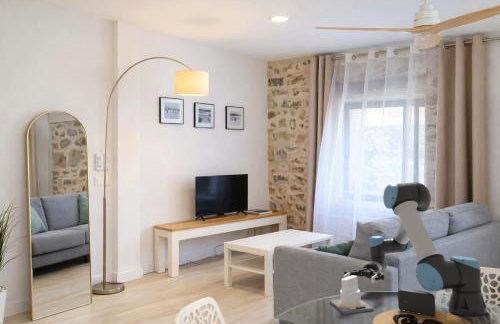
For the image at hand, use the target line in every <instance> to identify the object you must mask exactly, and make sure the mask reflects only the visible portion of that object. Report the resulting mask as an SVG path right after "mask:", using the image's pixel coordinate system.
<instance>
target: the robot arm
mask: <svg viewBox="0 0 500 324" xmlns="http://www.w3.org/2000/svg"><path fill="white" fill-rule="evenodd" d="M431 202H432V195H431V192H430V190H429V188H428V187H427V186H426V185H424V184H423V183H421V182H419V181H418V182H416V181H415V182H414V181H412V182H406V183H405V182H403V183H402V182H401V183H396V182H395V183H391V184H388V185H387V186H385V188H384V190H383V205H384V206H385V208H386V209H390V210H392V212H393V215H396V216H397V217H399V220H400V224H399V225H398V228H397V230H396V233H395V234H394V236H393V238H384V236H383V235H372V236H370V237H369V245H368V246H369V254H370V255H369V256H370V258H369V259H370V261H369V262H368V263H366V264H365V265H364V266H363V268H360V269H358V268H355V269H348V270H345V271H343V278H346V277H349V276H352V275H354V276H357V277H360V278H361V277H366V278H367V279H370V280H371V284H374V283H376V282H377V281H380V280H382V281H385V274H384V273H383V272H384V271H386V269H387V268H388V261H387V260H386V259H385V258H386V256H385V255H387V254H393V253H405V252H408V251H410V249H411V247H412V248H413V251H414V253H415V254H416V257H417V259H418V261H417V262H416V269H415V274H416V275H415V277H416V279H417V282H418V284H419V285H420V286H421V288H422V289H424V290H426V291H427V292H439V291H443V290H445V291H446V290H451V294H450V298H449V301H448V305H447V306H448V308H447V309H448V311H449V312H451V313H453V314H456V315H460V316H468V317H477V316H478V317H479V316H483V315H486V314H487V313H488V310H487V304H486V301H485V300H484V297H483V295H482V283H481V282H482V281H481V280H482V278H481V265H480V261H479V260H478V259H477V258H474V257H469V256H461V255H451V256H450V257H449V260H446V259H445V256H444V255H443V254H442V253H439V252H438V250H437V248H436V247H435V244H434V242H433V240H432V238H431V236H430V234H429V232H428V230H427V228H426V225H425V224H424V221H423V220H422V216H423V214H424V213H425V212H426V211H428V210H429V208H430V205H431ZM411 245H412V246H411Z"/></svg>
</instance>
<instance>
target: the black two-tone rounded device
mask: <svg viewBox="0 0 500 324" xmlns="http://www.w3.org/2000/svg"><path fill="white" fill-rule="evenodd" d="M397 301H398V303H397V305H398V310H400V311H401V310H405V311H409V312H408V313H411V312H414V313H413V314H416V313H420V314H419V315H422V314H425V315H424V316H428V315H431V316H430V317H434V316H436V314H437V313H436V312H437V311H436V297H435V295H434V294H433V293H431V292H430V291H424V290H419V289H411V288H410V289H408V288H407V289H402V288H401V289H399V290H398V291H397ZM405 311H404V312H405Z"/></svg>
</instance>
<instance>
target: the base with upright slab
mask: <svg viewBox="0 0 500 324" xmlns="http://www.w3.org/2000/svg"><path fill="white" fill-rule="evenodd" d="M340 281H341V282H340V283H341V289H340V290H339V291H340V299H341V304H342V305H343V306H348V307H354V306H359V305H360V304H361V300H362V299H361V290H360V289H359V283H358V282H359V281H358V276H354V275H352V276H349V277H346V278H344V277H342V278H341V280H340Z"/></svg>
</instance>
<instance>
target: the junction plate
mask: <svg viewBox="0 0 500 324" xmlns="http://www.w3.org/2000/svg"><path fill="white" fill-rule="evenodd" d="M329 303H330V305H332V306H333V307H334V308H336V309H337V310H338V311H340V313H342V314H344V315H348V314H349V315H350V314H358V313H365V312H367V313H368V312H373V311H375V310H374V309H375V307H373V306H371V305H370V304H368V303H367V302H366V301H364V300H362V299H361V304H360V305H359V306H354V307H348V306H343V305H342V304H341V298H338V299H337V298H336V299H329Z"/></svg>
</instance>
